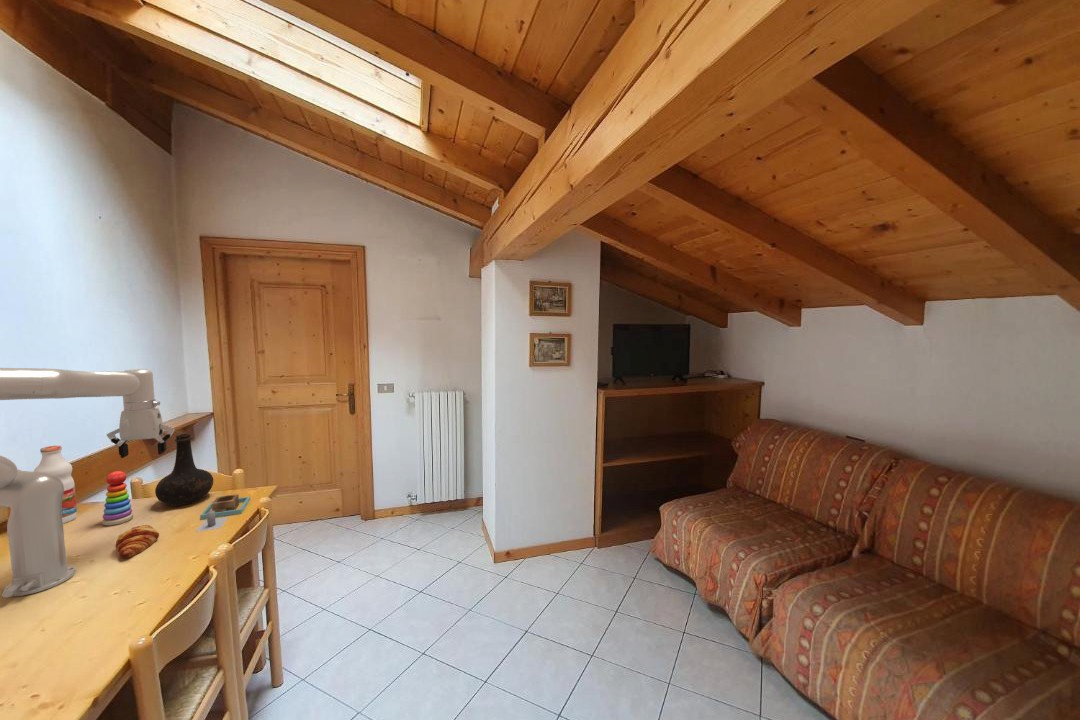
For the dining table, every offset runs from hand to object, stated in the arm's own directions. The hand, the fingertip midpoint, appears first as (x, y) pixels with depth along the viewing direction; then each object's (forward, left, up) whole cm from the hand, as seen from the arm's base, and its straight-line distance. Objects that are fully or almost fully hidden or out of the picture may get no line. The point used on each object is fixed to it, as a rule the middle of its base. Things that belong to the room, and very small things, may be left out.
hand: (143, 455), depth 136 cm
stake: (-2, -18, -28) cm, 34 cm away
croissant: (-8, 0, -29) cm, 30 cm away
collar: (+11, -19, -28) cm, 35 cm away
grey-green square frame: (+11, -19, -28) cm, 36 cm away
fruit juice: (+24, +35, -28) cm, 51 cm away
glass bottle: (+28, -1, -28) cm, 40 cm away
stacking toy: (+16, +15, -28) cm, 36 cm away
